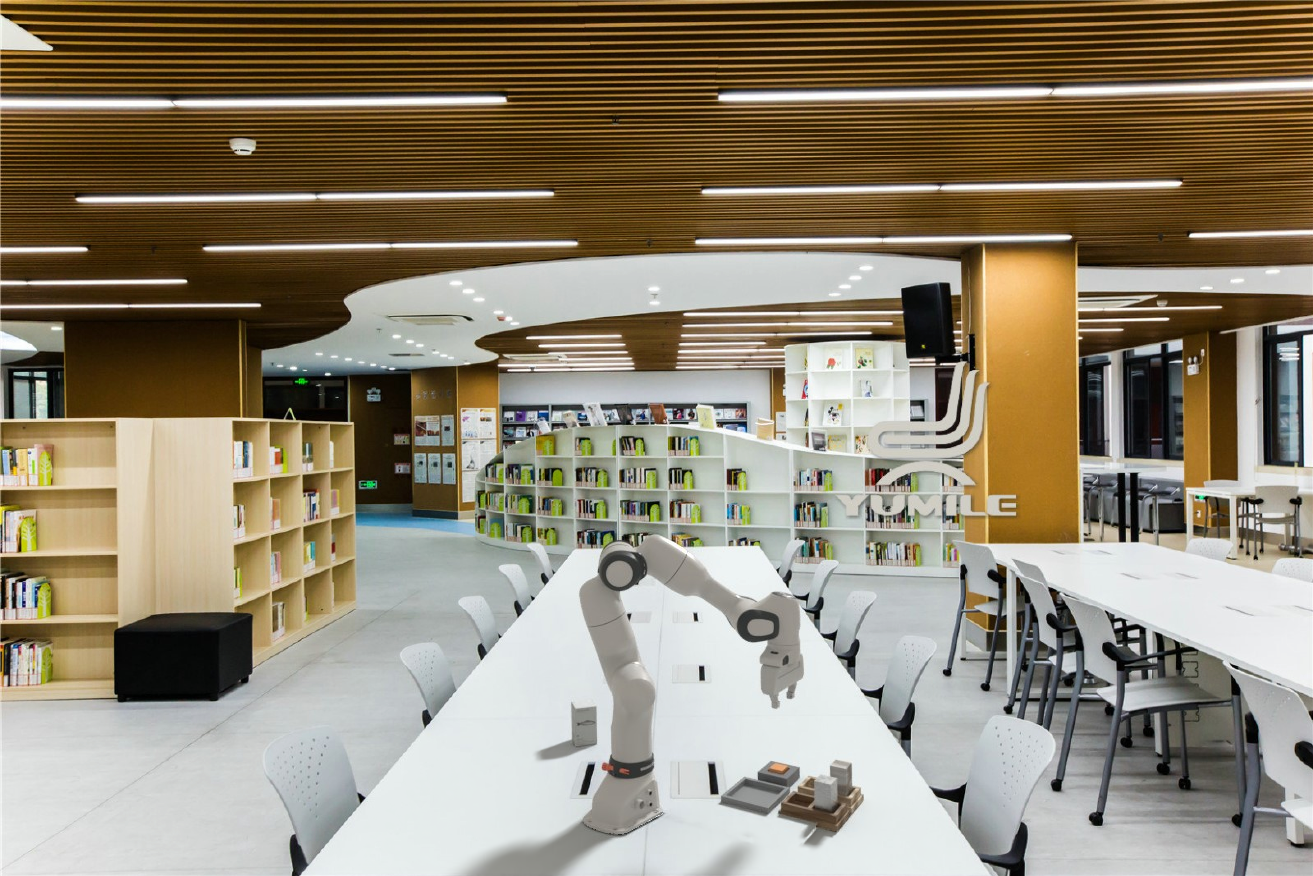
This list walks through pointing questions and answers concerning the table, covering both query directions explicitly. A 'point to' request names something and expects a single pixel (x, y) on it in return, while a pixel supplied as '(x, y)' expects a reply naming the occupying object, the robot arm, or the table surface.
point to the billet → (826, 794)
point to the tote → (755, 795)
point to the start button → (778, 768)
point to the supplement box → (584, 722)
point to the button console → (779, 775)
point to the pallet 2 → (813, 811)
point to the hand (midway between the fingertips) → (783, 703)
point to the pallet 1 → (841, 798)
